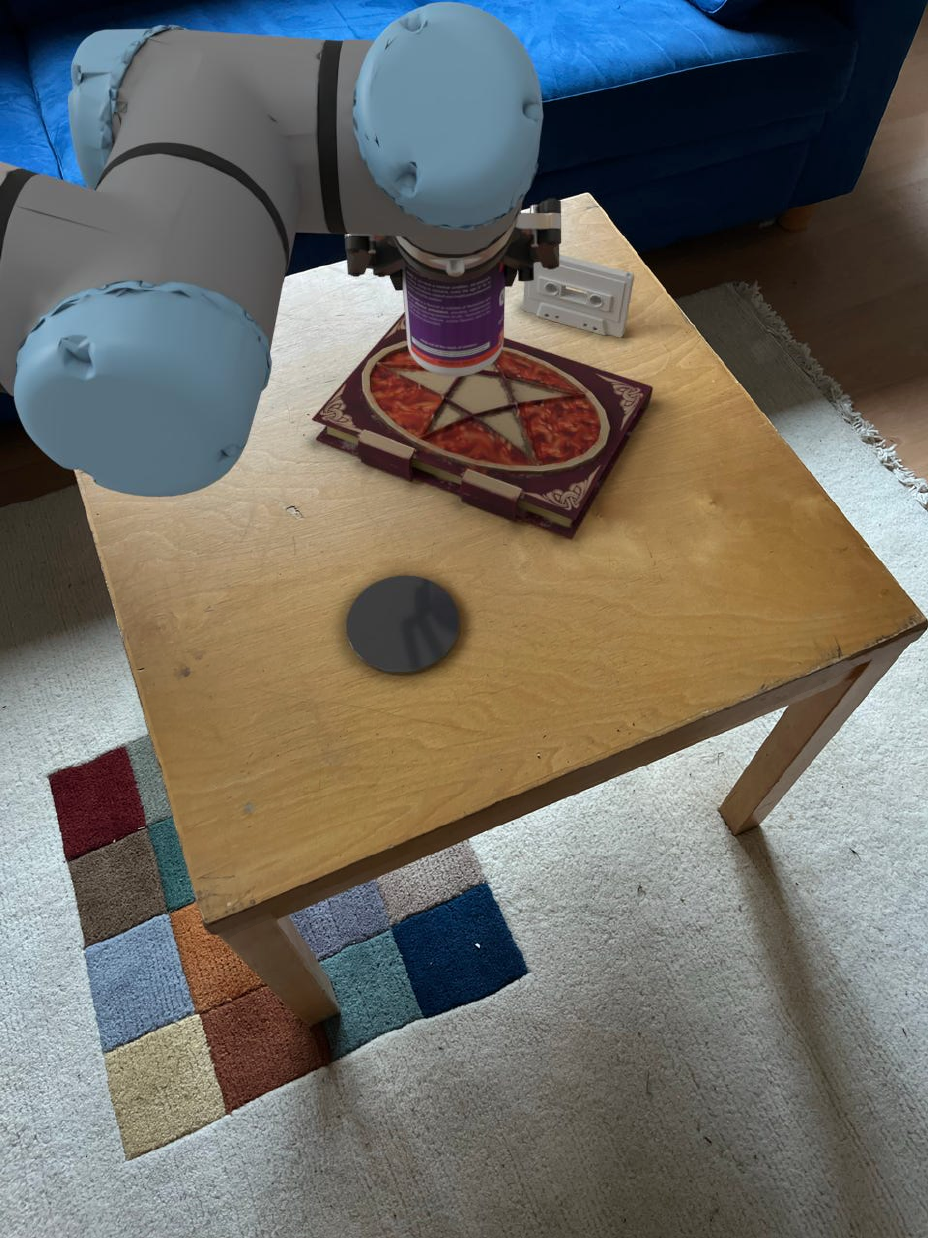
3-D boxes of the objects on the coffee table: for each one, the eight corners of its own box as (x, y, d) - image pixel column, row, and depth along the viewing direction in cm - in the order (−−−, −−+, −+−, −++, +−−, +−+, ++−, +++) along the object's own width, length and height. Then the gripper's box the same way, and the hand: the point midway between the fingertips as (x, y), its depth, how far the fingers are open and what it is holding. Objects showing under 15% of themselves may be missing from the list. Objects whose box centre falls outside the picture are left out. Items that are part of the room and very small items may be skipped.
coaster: (335, 668, 74) (334, 664, 73) (359, 573, 79) (358, 569, 79) (450, 681, 73) (450, 678, 72) (466, 584, 78) (466, 581, 78)
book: (648, 406, 90) (657, 369, 86) (568, 548, 80) (574, 513, 76) (413, 327, 98) (410, 289, 93) (312, 447, 87) (304, 410, 83)
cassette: (626, 330, 96) (637, 270, 89) (620, 341, 95) (631, 281, 88) (526, 303, 99) (529, 243, 92) (520, 313, 98) (523, 253, 91)
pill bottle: (518, 368, 71) (527, 203, 59) (427, 393, 69) (417, 231, 57) (481, 308, 75) (482, 143, 63) (394, 331, 74) (378, 167, 61)
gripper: (270, 279, 48) (327, 323, 71) (639, 266, 48) (581, 315, 71) (258, 132, 47) (321, 225, 69) (641, 119, 47) (581, 216, 69)
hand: (453, 270), depth 70 cm, fingers closed on pill bottle, 8 cm apart
